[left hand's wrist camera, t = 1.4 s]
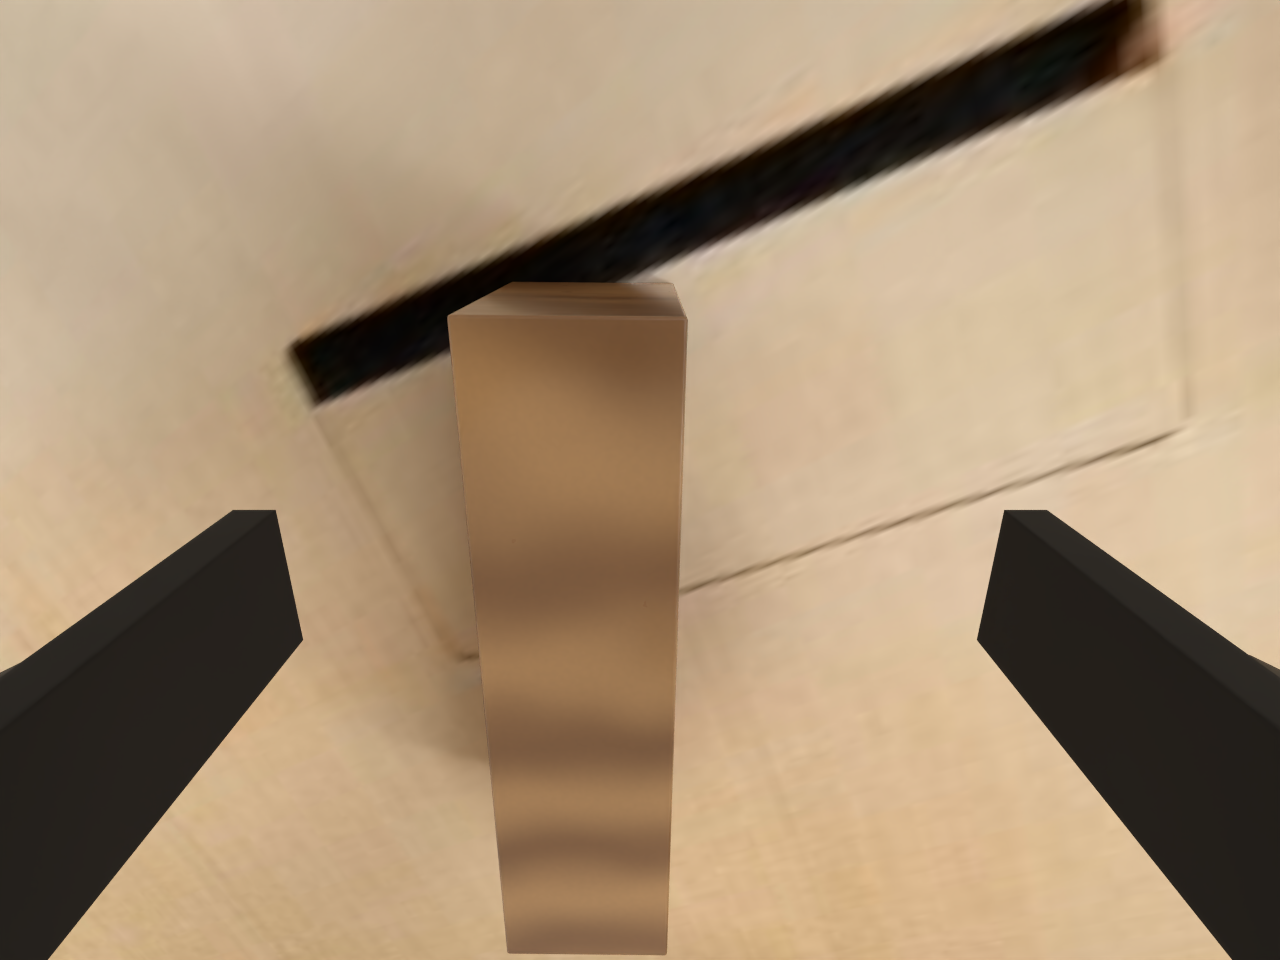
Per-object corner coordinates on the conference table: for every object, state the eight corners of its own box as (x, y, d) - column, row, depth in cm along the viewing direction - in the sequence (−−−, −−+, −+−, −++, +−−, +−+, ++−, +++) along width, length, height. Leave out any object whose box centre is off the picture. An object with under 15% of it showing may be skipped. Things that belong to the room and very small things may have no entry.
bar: (510, 281, 25) (446, 315, 17) (673, 283, 25) (688, 316, 17) (540, 775, 34) (507, 954, 25) (661, 776, 34) (666, 956, 25)
